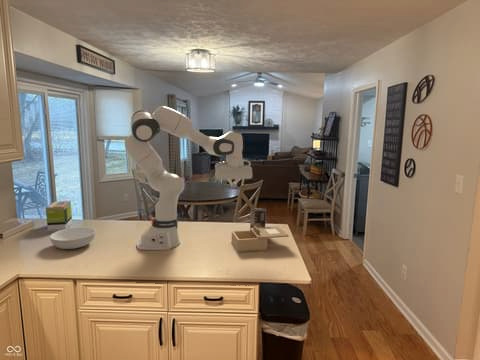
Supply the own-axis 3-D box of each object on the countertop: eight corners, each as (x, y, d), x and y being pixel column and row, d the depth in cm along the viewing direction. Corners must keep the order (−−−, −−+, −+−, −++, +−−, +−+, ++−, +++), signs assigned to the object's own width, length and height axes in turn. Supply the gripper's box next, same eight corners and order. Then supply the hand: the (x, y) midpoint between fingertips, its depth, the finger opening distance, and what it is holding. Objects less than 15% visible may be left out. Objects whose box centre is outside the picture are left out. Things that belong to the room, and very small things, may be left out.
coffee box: (265, 234, 190) (266, 208, 187) (264, 237, 184) (266, 211, 181) (250, 233, 191) (251, 207, 188) (249, 236, 185) (250, 210, 182)
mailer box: (237, 253, 160) (237, 239, 159) (231, 243, 174) (231, 231, 172) (266, 251, 164) (267, 238, 163) (259, 241, 177) (259, 229, 176)
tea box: (55, 223, 198) (53, 200, 196) (72, 223, 201) (71, 200, 198) (47, 231, 184) (45, 206, 182) (66, 230, 187) (64, 206, 184)
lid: (257, 238, 161) (257, 232, 160) (249, 229, 175) (250, 223, 175) (288, 236, 165) (288, 230, 164) (278, 227, 179) (278, 222, 179)
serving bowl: (75, 236, 177) (74, 225, 176) (104, 242, 170) (104, 229, 169) (40, 249, 157) (39, 236, 156) (72, 256, 151) (72, 242, 150)
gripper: (216, 162, 164) (215, 188, 166) (253, 162, 169) (252, 187, 171) (214, 161, 170) (213, 186, 172) (250, 161, 175) (249, 185, 177)
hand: (233, 187), depth 172 cm, fingers closed
